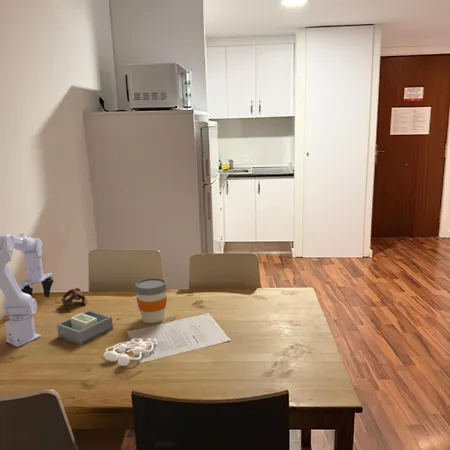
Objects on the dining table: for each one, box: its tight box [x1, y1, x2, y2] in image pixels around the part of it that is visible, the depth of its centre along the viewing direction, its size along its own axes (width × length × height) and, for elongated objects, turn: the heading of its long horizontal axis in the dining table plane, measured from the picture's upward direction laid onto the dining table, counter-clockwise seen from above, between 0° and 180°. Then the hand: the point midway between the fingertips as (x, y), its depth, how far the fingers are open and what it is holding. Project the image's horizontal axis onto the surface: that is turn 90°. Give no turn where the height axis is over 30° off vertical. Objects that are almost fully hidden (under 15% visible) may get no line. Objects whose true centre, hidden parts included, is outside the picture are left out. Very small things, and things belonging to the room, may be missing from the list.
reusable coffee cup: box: [134, 277, 168, 324], centre depth 178 cm, size 13×13×15 cm
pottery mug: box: [61, 287, 88, 307], centre depth 197 cm, size 12×10×8 cm
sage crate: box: [70, 312, 97, 331], centre depth 168 cm, size 5×9×5 cm, turn 55°
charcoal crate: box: [56, 309, 114, 346], centre depth 168 cm, size 15×13×5 cm
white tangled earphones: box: [103, 337, 158, 367], centre depth 153 cm, size 19×14×4 cm
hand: (38, 300), depth 178 cm, fingers open, 7 cm apart
